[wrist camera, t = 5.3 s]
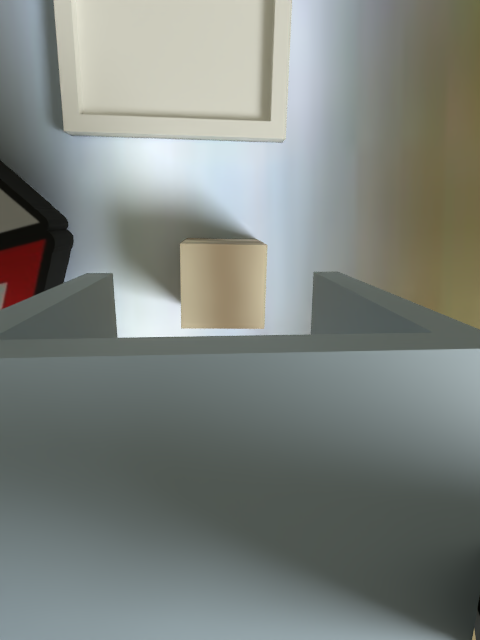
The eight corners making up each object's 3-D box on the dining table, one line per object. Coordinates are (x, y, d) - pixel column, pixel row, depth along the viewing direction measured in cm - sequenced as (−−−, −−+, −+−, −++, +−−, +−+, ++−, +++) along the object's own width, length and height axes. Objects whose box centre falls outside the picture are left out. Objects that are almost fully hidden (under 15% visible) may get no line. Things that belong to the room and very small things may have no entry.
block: (187, 306, 30) (181, 328, 24) (187, 238, 29) (179, 243, 23) (254, 307, 30) (264, 328, 25) (256, 239, 29) (267, 245, 23)
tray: (71, 135, 27) (63, 131, 25) (51, -129, 23) (41, -150, 22) (282, 142, 28) (285, 138, 26) (293, -111, 24) (297, -131, 23)
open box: (106, 495, 16) (-16, 816, 8) (86, 273, 14) (-118, 360, 5) (325, 485, 17) (447, 773, 8) (338, 271, 15) (524, 347, 6)
